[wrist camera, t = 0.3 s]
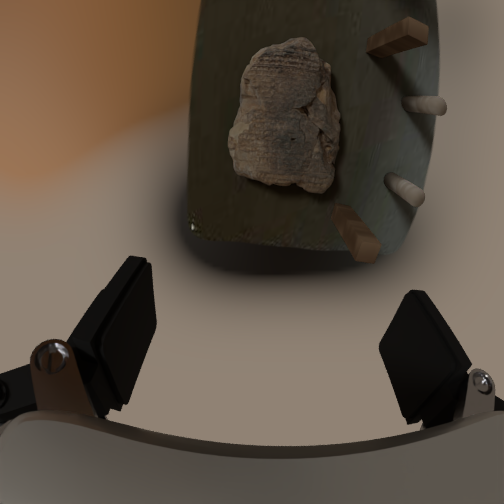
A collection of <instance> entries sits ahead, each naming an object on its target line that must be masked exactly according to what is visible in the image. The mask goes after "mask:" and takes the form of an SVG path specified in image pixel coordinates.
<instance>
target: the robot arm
mask: <svg viewBox="0 0 504 504" xmlns="http://www.w3.org/2000/svg"><path fill="white" fill-rule="evenodd" d="M156 325H157V320H156V311H155V302H154V291H153V279H152V266H151V263H148V262H147V260H146V258H143V257H136V256H129V257H128V258H127V259H126V261H125V262H124V263H123V265H122V266H121V267H120V269H119V270H118V271H117V272H116V274H115V275H114V277H113V278H112V279H111V281H110V282H109V283H108V285H107V286H106V287H105V289H103V290H101V292H100V293H99V294H98V295H97V297H96V298H95V300H94V301H93V302H92V304H91V305H90V307H89V308H88V310H87V311H86V313H85V314H84V316H83V317H82V319H81V320H80V322H79V323H78V325H77V326H76V328H75V329H74V331H73V332H72V334H71V335H70V337H69V339H68V340H67V342H65V341H63V340H59V339H50V340H46V341H44V342H42V343H40V344H39V345H38V346H36V348H35V349H34V350H33V352H32V354H31V357H30V364H28V365H25V366H22V367H19V368H16V369H13V370H10V371H7V372H4V373H1V374H0V504H504V401H503V400H502V399H500V398H498V397H497V396H495V385H494V382H493V380H492V378H491V377H490V376H489V374H488V373H486V372H485V371H484V370H481V369H473V370H472V371H471V372H470V373H469V374H467V370H468V369H469V368H470V367H471V365H472V363H471V362H470V360H469V358H468V356H467V355H466V353H465V351H464V350H463V348H462V346H461V345H460V343H459V341H458V340H457V338H456V337H455V335H454V333H453V332H452V330H451V329H450V327H449V326H448V324H447V323H446V321H445V320H444V318H443V317H442V315H441V314H440V312H439V311H438V309H437V308H436V306H435V305H434V304H433V302H432V301H431V299H430V298H429V296H428V295H427V294H426V293H425V291H421V290H410V291H409V292H408V293H407V294H406V295H405V296H404V299H403V300H402V302H401V304H400V306H399V308H398V310H397V312H396V314H395V316H394V318H393V320H392V321H391V323H390V325H389V327H388V329H387V331H386V333H385V334H384V336H383V338H382V339H381V341H380V343H379V352H380V354H381V357H382V359H383V362H384V365H385V367H386V370H387V373H388V375H389V378H390V380H391V384H392V386H393V389H394V392H395V395H396V398H397V401H398V404H399V407H400V410H401V413H402V416H403V417H404V418H406V421H407V424H408V425H409V424H413V423H418V422H419V421H420V420H421V419H422V421H423V423H422V426H421V428H420V431H415V432H411V433H407V434H402V435H397V436H392V437H386V438H381V439H374V440H369V441H360V442H352V443H343V444H331V445H316V446H256V445H241V444H230V443H220V442H212V441H204V440H197V439H191V438H185V437H179V436H174V435H168V434H163V433H158V432H154V431H149V430H144V429H141V428H137V427H133V426H129V425H125V424H121V423H117V422H113V421H109V420H108V419H107V417H106V415H107V414H108V413H109V411H110V408H111V409H114V410H117V411H121V409H122V406H123V404H125V405H127V404H128V402H129V400H130V397H131V394H132V391H133V389H134V385H135V383H136V380H137V377H138V375H139V372H140V369H141V366H142V364H143V361H144V359H145V356H146V353H147V350H148V348H149V345H150V343H151V340H152V338H153V335H154V333H155V330H156Z"/></svg>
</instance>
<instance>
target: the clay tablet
mask: <svg viewBox="0 0 504 504" xmlns="http://www.w3.org/2000/svg"><path fill="white" fill-rule="evenodd" d="M330 83H331V67H330V65H329V64H328V63H326V62H325V61H323V60H322V59H320V58H319V55H318V53H317V52H316V48H315V47H314V46H313V44H312V43H311V42H310V41H309V40H308V39H307V38H304V37H299V38H292V39H290V40H288V41H286V42H284V43H282V44H278V45H272V46H270V47H266V48H263V49H261V50H260V51H258V52H257V53H256V54H255V55H254V56H253V57H252V59H251V61H250V65H247V67H246V69H245V71H244V73H243V76H242V80H241V85H240V88H241V94H240V107H239V110H238V114H237V116H236V119H235V121H234V127H233V128H231V129H230V132H229V137H228V147H229V151H230V155H231V157H232V159H233V160H234V163H233V166H234V170H235V172H236V173H237V174H238V175H241V176H246V177H248V178H251V179H254V180H258V181H261V182H263V183H265V184H267V185H271V184H275V185H279V186H288V185H291V184H292V183H296V184H297V185H298V186H299V187H302V188H304V190H306V191H308V192H312V193H321V194H322V193H324V192H325V191H326V190H327V189H328V188H329V187H330V186H331V184H332V182H333V179H334V174H335V168H334V166H333V164H335V158H336V155H337V153H338V150H339V144H338V143H339V134H340V131H341V129H340V123H339V120H340V113H339V111H338V109H337V104H336V97H335V94H334V92H333V91H332V89H331V84H330ZM332 163H333V164H332Z"/></svg>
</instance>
